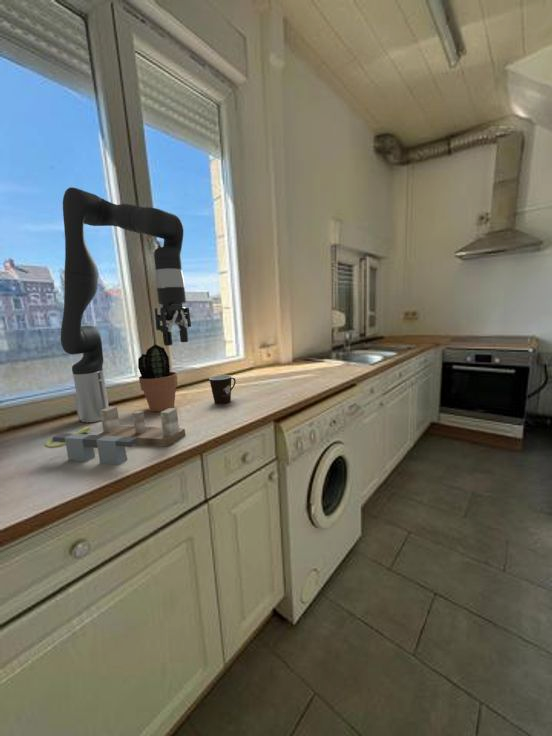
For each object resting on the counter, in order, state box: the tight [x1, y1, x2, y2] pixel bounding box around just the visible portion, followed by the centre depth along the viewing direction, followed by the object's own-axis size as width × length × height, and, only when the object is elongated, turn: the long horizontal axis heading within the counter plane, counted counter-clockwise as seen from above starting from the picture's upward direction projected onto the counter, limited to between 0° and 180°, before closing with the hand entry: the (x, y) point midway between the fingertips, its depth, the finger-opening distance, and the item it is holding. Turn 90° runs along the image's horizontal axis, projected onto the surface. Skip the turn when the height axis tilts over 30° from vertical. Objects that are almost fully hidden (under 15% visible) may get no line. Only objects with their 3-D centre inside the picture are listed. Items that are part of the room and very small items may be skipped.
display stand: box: [97, 405, 186, 447], centre depth 91 cm, size 24×8×9 cm, turn 74°
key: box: [45, 426, 91, 448], centre depth 95 cm, size 7×12×2 cm, turn 170°
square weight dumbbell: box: [51, 432, 138, 465], centre depth 79 cm, size 24×3×6 cm, turn 74°
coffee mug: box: [209, 374, 237, 405], centre depth 125 cm, size 12×9×10 cm
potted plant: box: [137, 344, 179, 412], centre depth 120 cm, size 14×14×25 cm
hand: (176, 343), depth 92 cm, fingers open, 8 cm apart
